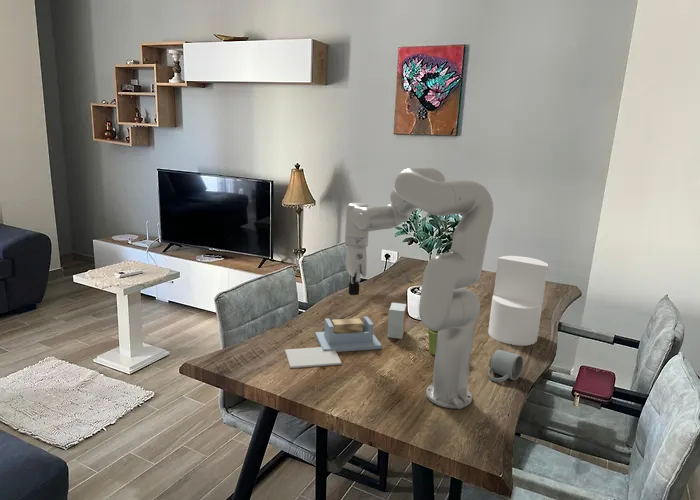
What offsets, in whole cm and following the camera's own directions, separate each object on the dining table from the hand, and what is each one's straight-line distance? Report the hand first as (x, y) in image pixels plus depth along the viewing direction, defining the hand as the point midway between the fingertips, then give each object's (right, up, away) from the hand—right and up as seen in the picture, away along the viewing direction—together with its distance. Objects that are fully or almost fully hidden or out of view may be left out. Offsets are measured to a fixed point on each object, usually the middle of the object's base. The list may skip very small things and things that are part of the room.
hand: (353, 294), depth 172 cm
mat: (-13, -19, -9) cm, 25 cm away
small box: (+15, -16, +12) cm, 25 cm away
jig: (-2, -17, +4) cm, 17 cm away
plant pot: (+28, -20, -1) cm, 34 cm away
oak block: (-2, -13, +3) cm, 13 cm away
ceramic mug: (+46, -24, -15) cm, 54 cm away
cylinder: (+58, -17, +16) cm, 63 cm away
